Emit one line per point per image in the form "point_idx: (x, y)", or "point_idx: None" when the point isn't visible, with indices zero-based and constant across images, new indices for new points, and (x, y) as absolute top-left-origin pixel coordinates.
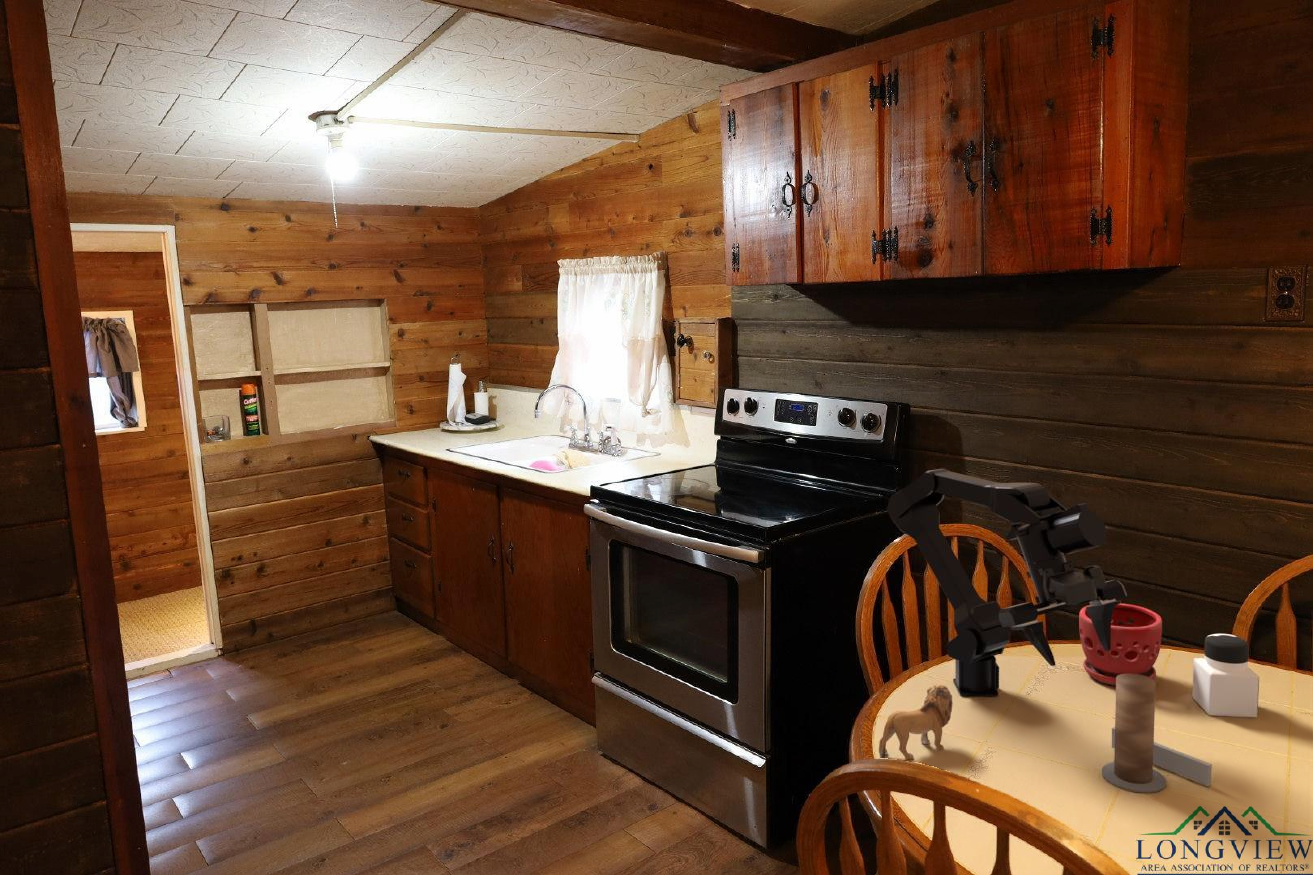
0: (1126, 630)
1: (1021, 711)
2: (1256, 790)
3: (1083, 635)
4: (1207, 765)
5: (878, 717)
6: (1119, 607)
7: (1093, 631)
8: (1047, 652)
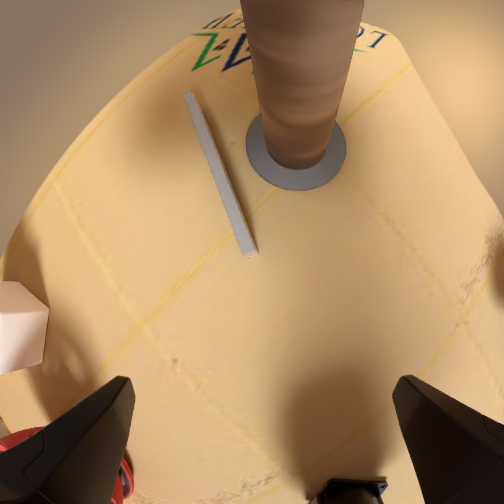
0: None
1: (331, 428)
2: (152, 100)
3: None
4: (192, 91)
5: None
6: None
7: None
8: (452, 401)
